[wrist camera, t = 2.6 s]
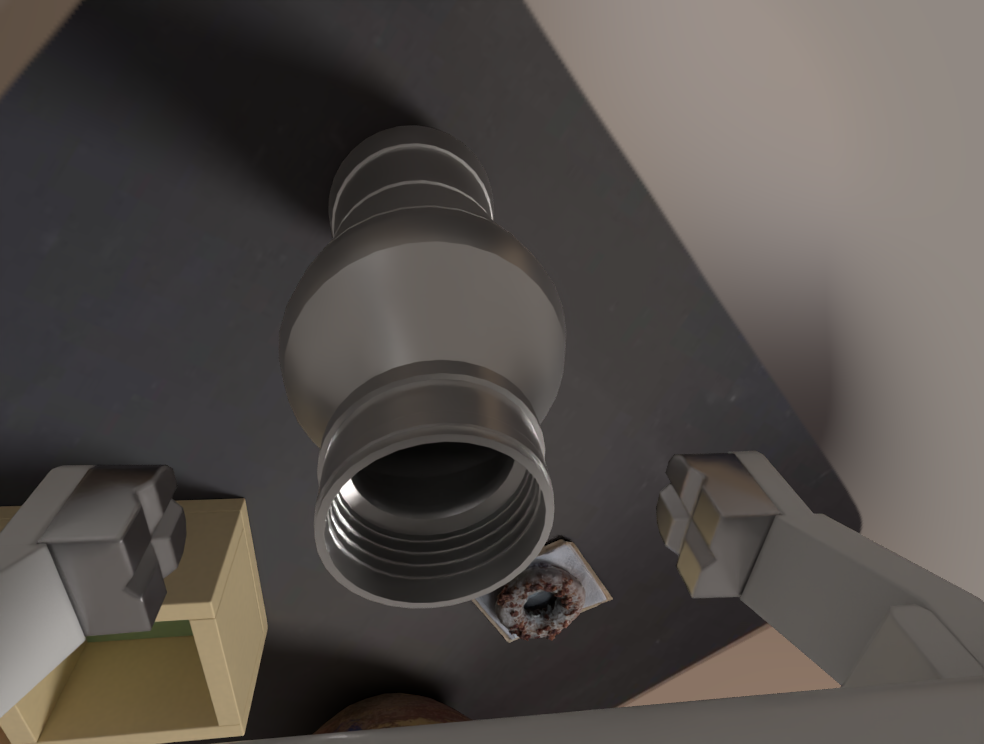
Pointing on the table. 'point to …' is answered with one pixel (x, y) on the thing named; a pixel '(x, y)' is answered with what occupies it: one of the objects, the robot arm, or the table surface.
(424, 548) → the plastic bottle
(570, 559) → the donut
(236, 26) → the table surface
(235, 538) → the divided box
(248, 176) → the table surface
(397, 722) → the bowl
